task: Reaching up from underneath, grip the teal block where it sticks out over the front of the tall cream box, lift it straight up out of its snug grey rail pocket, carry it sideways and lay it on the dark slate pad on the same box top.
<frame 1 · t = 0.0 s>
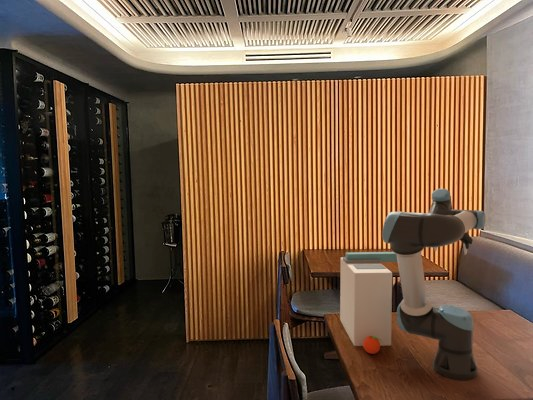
hand: (450, 250, 196), 36 cm above the table, tool tilted 35°, fingers open, 13 cm apart
teal block: (371, 261, 193), point 32 cm above the table, touching tall cream box
tomato: (372, 353, 167), on the table
tall cream box: (363, 331, 189), on the table
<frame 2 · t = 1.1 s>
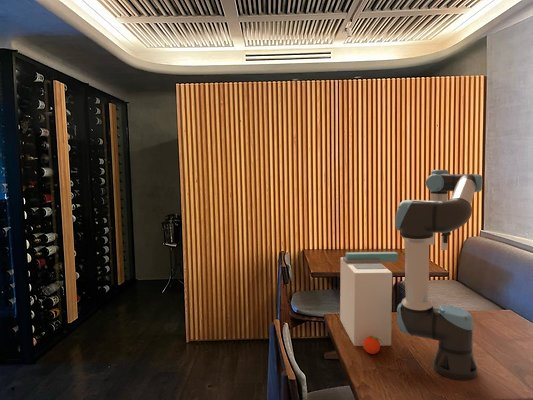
hand: (437, 247, 192), 39 cm above the table, tool pointing down, fingers open, 13 cm apart
nothing on the table moved.
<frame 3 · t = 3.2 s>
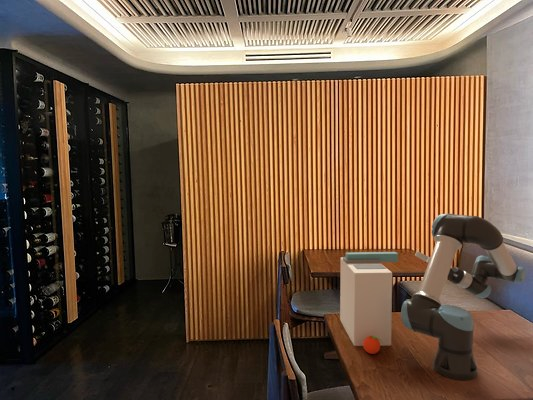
hand: (421, 256, 193), 34 cm above the table, tool pointing upward, fingers open, 13 cm apart
nothing on the table moved.
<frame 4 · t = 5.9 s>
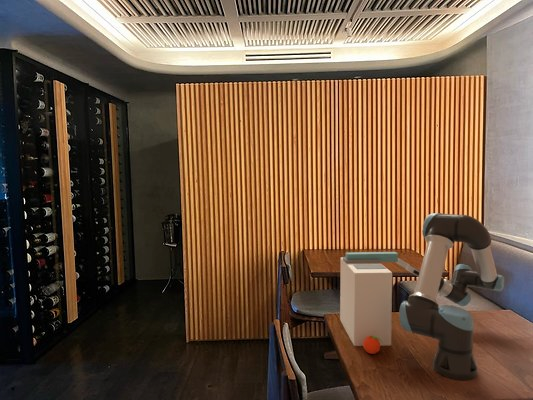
hand: (402, 263, 193), 31 cm above the table, tool pointing upward, fingers open, 13 cm apart
nothing on the table moved.
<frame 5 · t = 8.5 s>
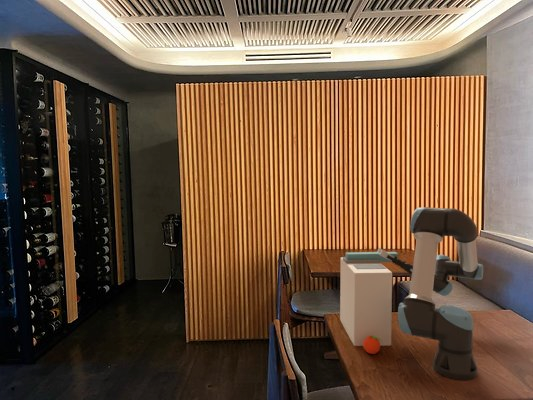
hand: (379, 251, 192), 37 cm above the table, tool pointing upward, fingers closed on teal block, 4 cm apart
teal block: (371, 261, 193), point 32 cm above the table, touching gripper, tall cream box
everything else where it was.
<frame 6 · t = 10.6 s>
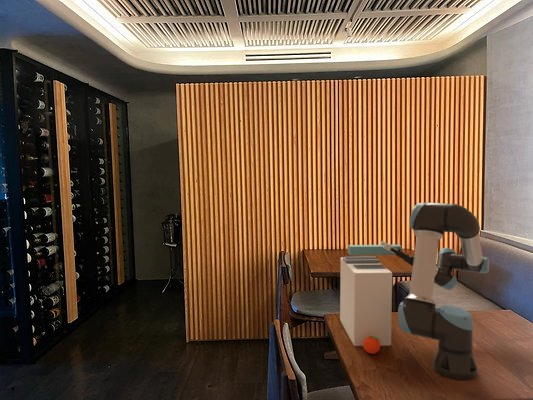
hand: (382, 244, 189), 41 cm above the table, tool pointing upward, fingers closed on teal block, 4 cm apart
teal block: (374, 254, 189), point 36 cm above the table, touching gripper
everything else where it was.
when the fingers open (38 cm above the table, at t = 12.8 s): teal block drops 1 cm, resting on tall cream box.
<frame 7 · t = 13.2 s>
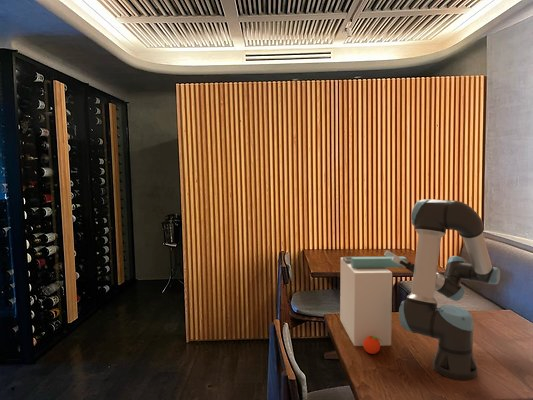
hand: (389, 254, 181), 37 cm above the table, tool pointing upward, fingers open, 10 cm apart
teal block: (378, 266, 182), point 32 cm above the table, touching tall cream box
everything else where it was.
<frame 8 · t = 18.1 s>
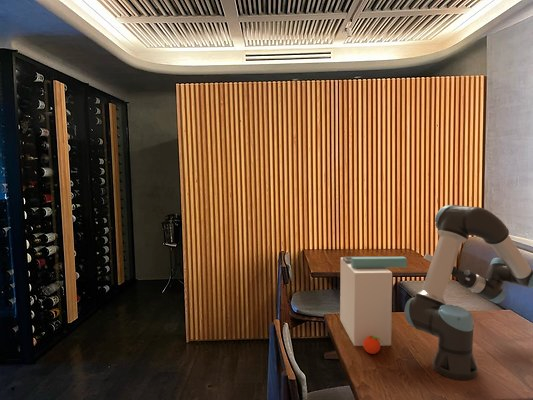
hand: (431, 258, 182), 35 cm above the table, tool pointing upward, fingers open, 13 cm apart
nothing on the table moved.
at the end: teal block 0.1 cm from the target spot, point 32.2 cm above the table; teal block tilted 0°; the gripper is holding nothing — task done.
